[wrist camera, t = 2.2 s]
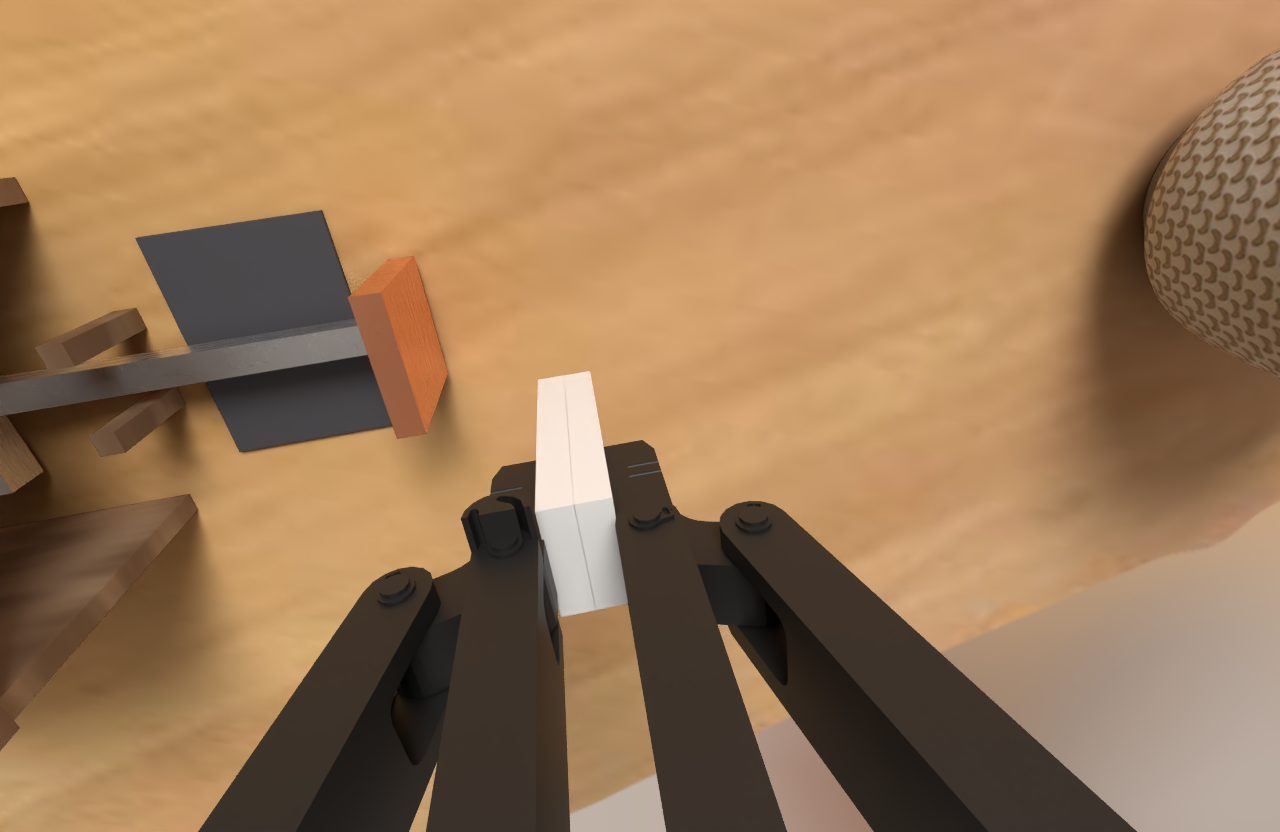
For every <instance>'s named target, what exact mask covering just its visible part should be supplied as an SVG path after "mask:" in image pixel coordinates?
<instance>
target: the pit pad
mask: <svg viewBox="0 0 1280 832" xmlns="http://www.w3.org/2000/svg"><path fill="white" fill-rule="evenodd" d="M135 239H136V241H137V243H138V245H139V247H140V249H141V251H142V253H143V255H144V257H145V259H146V261H147V263H148V265H149V267H150V269H151V271H152V273H153V276H154V278H155V280H156V282H157V284H158V286H159V288H160V290H161V292H162V294H163V296H164V298H165V300H166V302H167V304H168V306H169V308H170V310H171V312H172V314H173V317H174V319H175V321H176V323H177V325H178V327H179V329H180V331H181V333H182V335H183V337H184V339H185V341H186V343H187V345H188V346H189V345H195V344H202V343H208V342H214V341H220V340H226V339H232V338H239V337H245V336H251V335H257V334H263V333H270V332H276V331H282V330H288V329H294V328H300V327H307V326H313V325H319V324H325V323H331V322H337V321H344V320H350V319H355V317H354V314H353V311H352V308H351V305H350V303H349V300H348V297H349V296H350V295H351V293H350V290H349V287H348V284H347V281H346V278H345V275H344V272H343V270H342V267H341V264H340V261H339V258H338V255H337V252H336V249H335V246H334V244H333V241H332V238H331V235H330V232H329V229H328V226H327V223H326V220H325V217H324V215H323V212H322V210H320V211H313V212H307V213H300V214H293V215H286V216H280V217H273V218H266V219H259V220H252V221H246V222H239V223H232V224H225V225H219V226H212V227H205V228H198V229H192V230H185V231H178V232H171V233H164V234H158V235H151V236H144V237H138V238H135ZM206 384H207V386H208V388H209V390H210V392H211V394H212V396H213V399H214V401H215V403H216V405H217V407H218V409H219V411H220V413H221V415H222V417H223V419H224V421H225V423H226V425H227V427H228V429H229V431H230V433H231V435H232V437H233V440H234V442H235V444H236V446H237V448H238V450H239V452H243V451H249V450H254V449H260V448H266V447H271V446H277V445H283V444H288V443H294V442H300V441H305V440H311V439H317V438H323V437H328V436H334V435H340V434H345V433H351V432H357V431H362V430H368V429H374V428H379V427H385V426H391V425H392V423H391V420H390V417H389V414H388V411H387V409H386V406H385V403H384V400H383V397H382V394H381V391H380V389H379V386H378V383H377V380H376V377H375V374H374V371H373V368H372V366H371V363H370V360H369V357H368V355H363V356H357V357H351V358H345V359H339V360H333V361H327V362H321V363H315V364H309V365H303V366H297V367H291V368H285V369H279V370H273V371H267V372H261V373H255V374H249V375H243V376H237V377H231V378H225V379H219V380H213V381H207V382H206Z"/></svg>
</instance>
